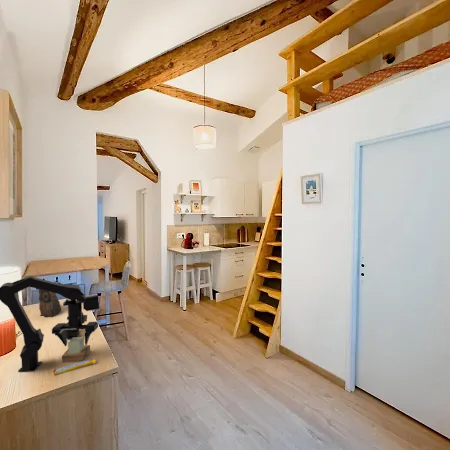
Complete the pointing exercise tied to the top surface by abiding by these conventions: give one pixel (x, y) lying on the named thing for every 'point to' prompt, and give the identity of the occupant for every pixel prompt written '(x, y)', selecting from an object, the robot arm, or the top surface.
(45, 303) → the owl
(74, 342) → the block
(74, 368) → the candy bar
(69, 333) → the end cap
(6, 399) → the top surface
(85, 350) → the base
